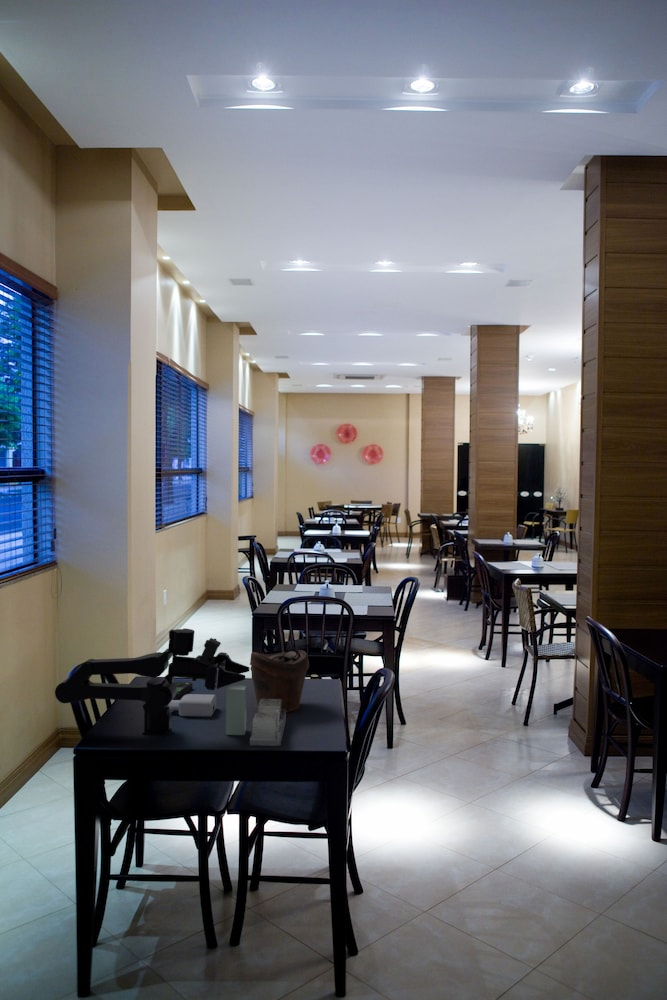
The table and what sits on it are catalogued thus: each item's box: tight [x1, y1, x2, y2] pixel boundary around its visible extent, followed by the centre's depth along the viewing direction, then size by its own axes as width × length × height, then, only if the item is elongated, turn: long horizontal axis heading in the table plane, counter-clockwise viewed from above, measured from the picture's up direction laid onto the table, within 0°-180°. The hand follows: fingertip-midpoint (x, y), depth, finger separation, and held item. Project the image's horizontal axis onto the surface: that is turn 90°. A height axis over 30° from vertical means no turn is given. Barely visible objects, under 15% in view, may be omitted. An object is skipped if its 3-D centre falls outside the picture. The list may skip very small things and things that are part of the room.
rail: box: [249, 699, 287, 747], centre depth 209 cm, size 8×21×6 cm, turn 0°
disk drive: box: [172, 681, 193, 700], centre depth 247 cm, size 10×3×15 cm
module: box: [225, 684, 248, 736], centre depth 209 cm, size 5×4×12 cm
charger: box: [166, 693, 217, 718], centre depth 227 cm, size 5×9×15 cm
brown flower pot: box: [249, 648, 310, 713], centre depth 234 cm, size 18×20×18 cm
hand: (247, 673), depth 208 cm, fingers open, 9 cm apart
